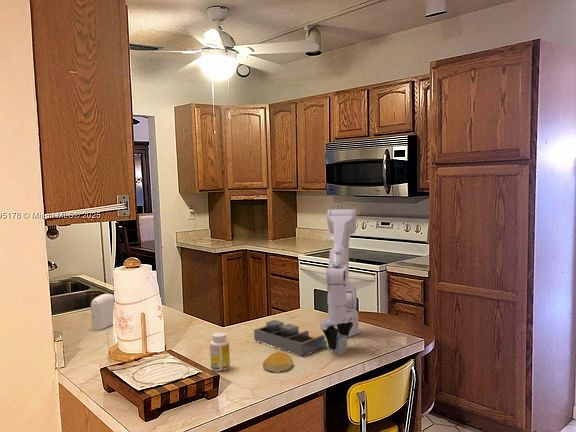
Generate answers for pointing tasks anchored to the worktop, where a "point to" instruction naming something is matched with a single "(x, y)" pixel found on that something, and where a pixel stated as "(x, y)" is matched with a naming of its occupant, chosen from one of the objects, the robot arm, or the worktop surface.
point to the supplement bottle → (219, 352)
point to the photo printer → (102, 311)
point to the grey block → (340, 344)
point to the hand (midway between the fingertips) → (337, 346)
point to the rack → (289, 338)
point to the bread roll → (278, 362)
